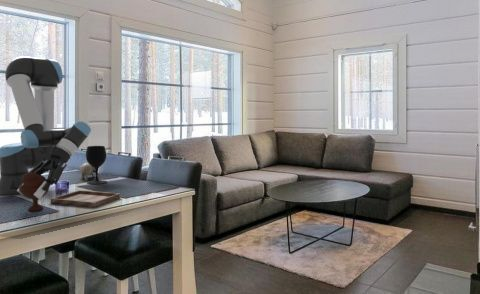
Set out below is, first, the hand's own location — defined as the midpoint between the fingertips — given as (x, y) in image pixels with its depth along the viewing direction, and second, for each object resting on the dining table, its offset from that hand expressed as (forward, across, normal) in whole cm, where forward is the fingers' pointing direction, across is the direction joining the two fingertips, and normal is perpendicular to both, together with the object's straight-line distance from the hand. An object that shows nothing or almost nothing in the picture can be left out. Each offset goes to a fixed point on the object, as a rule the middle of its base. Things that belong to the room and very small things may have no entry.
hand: (27, 194), depth 146 cm
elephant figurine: (-36, +43, -47) cm, 73 cm away
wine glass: (-32, +27, -42) cm, 59 cm away
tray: (-12, -4, -21) cm, 25 cm away
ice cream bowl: (+3, 0, -7) cm, 7 cm away
